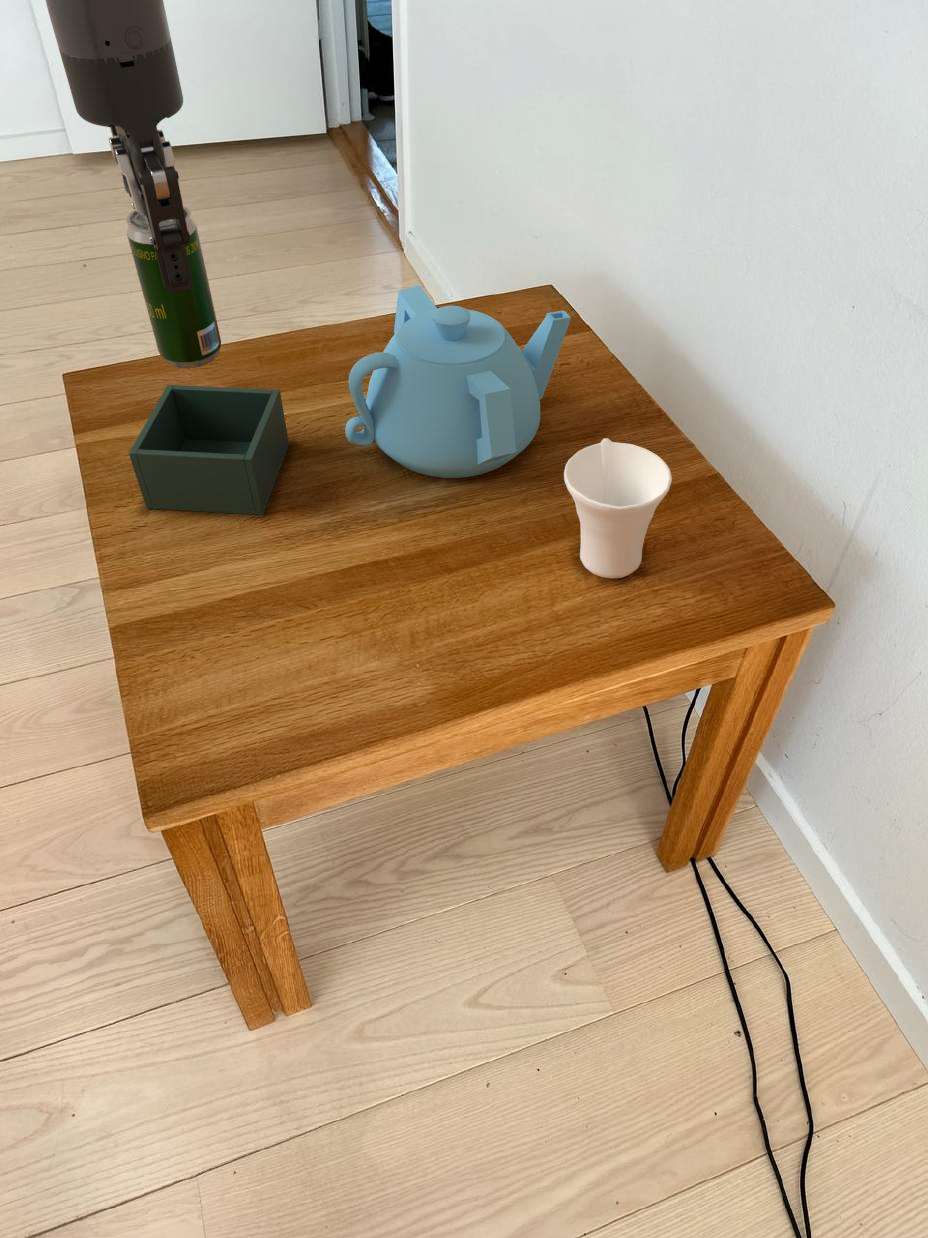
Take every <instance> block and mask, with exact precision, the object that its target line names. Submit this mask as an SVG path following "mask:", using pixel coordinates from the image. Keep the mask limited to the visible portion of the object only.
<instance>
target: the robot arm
mask: <svg viewBox="0 0 928 1238" xmlns="http://www.w3.org/2000/svg"><path fill="white" fill-rule="evenodd" d="M45 3H46V4H45V5H46V8H47V12H48V15H49V20H50V22H51V26H52V30H53V33H54V37H55V40H56V45H57V47H58V48H57V49H58V51H59V55H60V58H61V61H62V66H63V69H64V72H65V76H66V79H67V82H68V86H69V90H70V94H71V98H72V100H73V105H74V108H75V111H76V113H77V114H78V116H79V117H80V118H81V119H83V120H84V121H86V122H88V123H89V124H92V125H95V126H99V127H106V128H110V133H111V137H108V143H109V146H110V150H111V153H112V156H113V158H114V161H115V163H116V164H117V166H118V172H119V176H120V181H121V182H122V185H123V188H124V190H125V192H126V194H128V195H129V197H130V198H131V200H132V202H131V207H132V209H133V210H134V211H135V210H136V212H137V213H138V214H139V215H142V216H144V218H145V220H146V223H147V227H148V230H149V233H150V237H149V239H150V242H151V244H153V246H154V248H155V252H156V256H157V260H158V264H159V268H160V272H161V276H162V280H163V284H164V286H165V288H166V290H167V291H168V292H170V293H174V292H179V291H183V290H188V289H191V288H192V286H193V280H192V276H191V271H190V267H189V262H188V258H187V254H186V249H185V245H186V244H190V240H189V239H190V234H189V232H188V230H187V225H186V219H185V214H184V209H183V206H184V201H183V198H182V193H181V189H180V183H179V179H180V176H179V172H178V171H177V170H176V168H175V165H176V158H175V155H174V151H173V147H172V144H171V142H170V140H166V137H165V135H164V132H163V129H158V125H159V124H160V123H161V122H162V121H163V120H165V119H169V118H171V117H174V115H176V114H178V113H179V111H180V110H181V109H182V107H183V104H184V94H183V90H182V85H181V80H180V75H179V70H178V66H177V61H176V56H175V52H174V46H173V42H172V37H171V36H172V35H171V32H170V28H169V22H168V18H167V13H166V7H165V2H164V0H45ZM170 219H172V220H173V223H174V227H171V228H166V229H160V228H159V223H160V222H161V221H165V220H170Z"/></svg>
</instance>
